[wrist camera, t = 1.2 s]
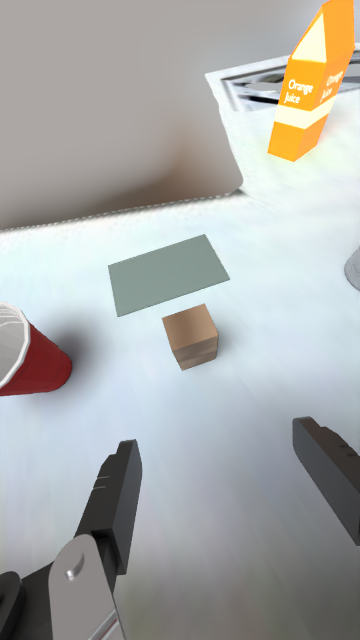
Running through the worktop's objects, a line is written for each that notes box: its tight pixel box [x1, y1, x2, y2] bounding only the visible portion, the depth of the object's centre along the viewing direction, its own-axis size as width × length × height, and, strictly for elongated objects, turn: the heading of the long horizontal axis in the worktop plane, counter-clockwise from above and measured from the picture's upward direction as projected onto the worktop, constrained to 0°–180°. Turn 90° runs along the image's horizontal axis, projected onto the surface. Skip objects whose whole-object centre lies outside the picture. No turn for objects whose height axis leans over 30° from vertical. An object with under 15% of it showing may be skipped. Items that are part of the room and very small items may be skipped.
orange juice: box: [267, 0, 355, 162], centre depth 40 cm, size 8×9×20 cm
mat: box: [108, 234, 230, 317], centre depth 36 cm, size 20×12×1 cm, turn 108°
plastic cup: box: [0, 302, 72, 396], centre depth 25 cm, size 11×11×12 cm
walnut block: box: [162, 304, 219, 371], centre depth 25 cm, size 5×4×9 cm
